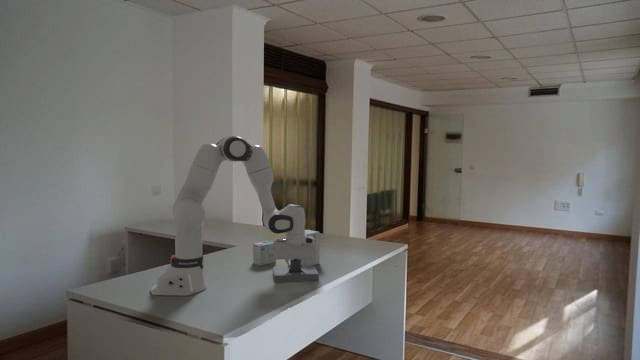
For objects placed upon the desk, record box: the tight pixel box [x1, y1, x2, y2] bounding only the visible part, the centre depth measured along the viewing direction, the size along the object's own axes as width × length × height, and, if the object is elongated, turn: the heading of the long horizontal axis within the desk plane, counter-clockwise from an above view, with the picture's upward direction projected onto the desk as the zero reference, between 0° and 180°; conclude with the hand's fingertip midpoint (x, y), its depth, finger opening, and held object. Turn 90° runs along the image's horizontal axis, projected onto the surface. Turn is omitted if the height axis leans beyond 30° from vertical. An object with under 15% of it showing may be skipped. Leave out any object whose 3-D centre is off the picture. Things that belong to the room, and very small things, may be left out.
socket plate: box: [272, 265, 320, 283], centre depth 209 cm, size 20×14×3 cm
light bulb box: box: [252, 240, 277, 267], centre depth 232 cm, size 11×7×11 cm, turn 134°
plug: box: [289, 259, 301, 273], centre depth 208 cm, size 4×4×8 cm
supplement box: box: [300, 229, 321, 266], centre depth 231 cm, size 10×9×17 cm
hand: (295, 267), depth 209 cm, fingers closed on plug, 4 cm apart
